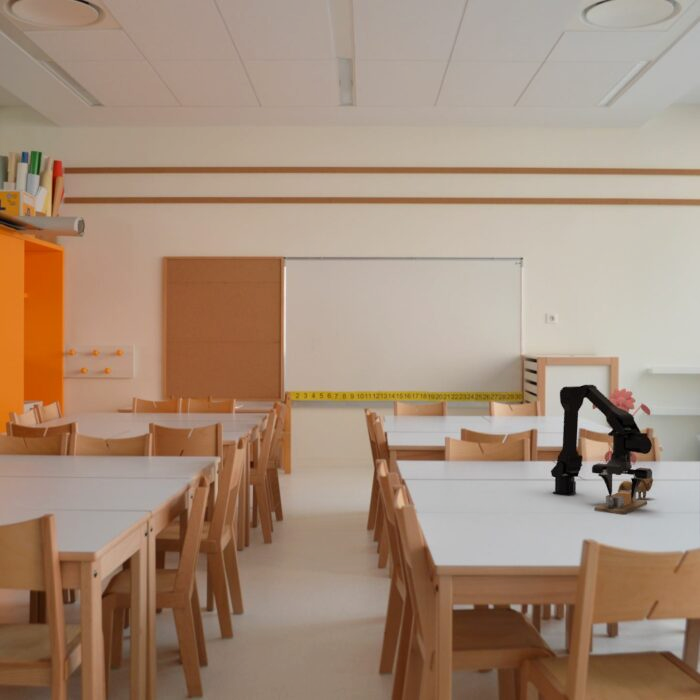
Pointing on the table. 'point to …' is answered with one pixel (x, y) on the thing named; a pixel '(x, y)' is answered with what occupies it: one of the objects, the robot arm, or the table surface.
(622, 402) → the figurine
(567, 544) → the table surface
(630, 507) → the board
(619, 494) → the hammer
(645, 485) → the lion figurine
